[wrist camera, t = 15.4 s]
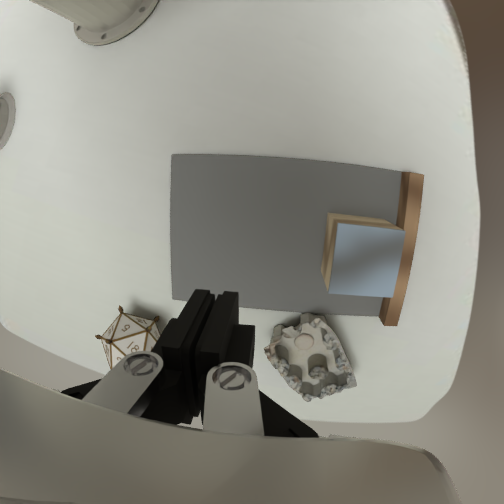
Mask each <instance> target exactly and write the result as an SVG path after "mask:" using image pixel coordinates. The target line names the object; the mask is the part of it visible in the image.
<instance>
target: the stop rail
mask: <svg viewBox="0 0 504 504" xmlns="http://www.w3.org/2000/svg"><path fill="white" fill-rule="evenodd" d="M423 180H424V175H422V174H417V173H411V172H402V173H401V185H400V196H399V205H398V213H397V221H396V226H397V227H399V228H401V229H403V230H405V231H406V233H405V239H404V245H403V250H402V256H401V261H400V266H399V271H398V276H397V281H396V285H395V290H394V294H393V298H390V297H383V300H382V304H381V309H380V313H379V318H380V320H381V322H382V323H383V325H384V326H397V324H398V320H399V317H400V313H401V309H402V305H403V301H404V297H405V293H406V289H407V284H408V280H409V275H410V270H411V265H412V260H413V255H414V249H415V243H416V237H417V231H418V224H419V217H420V209H421V201H422V191H423Z"/></svg>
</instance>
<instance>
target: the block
mask: <svg viewBox="0 0 504 504" xmlns="http://www.w3.org/2000/svg"><path fill="white" fill-rule="evenodd" d="M405 233H406V231H405V230H403V229H401V228H399V227H397V226H396V225H394V224H392V223H390V222H388V221H386V220H385V219H379V218H371V217H362V216H353V215H345V214H335V213H328V215H327V224H326V233H325V242H324V250H323V258H322V265H321V273H322V276H323V279H324V282H325V285H326V288H327V291H328V293H329V294H343V295H357V296H373V297H390V298H393V294H394V290H395V285H396V281H397V276H398V271H399V266H400V261H401V256H402V250H403V245H404V239H405Z"/></svg>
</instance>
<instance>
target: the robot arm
mask: <svg viewBox="0 0 504 504" xmlns="http://www.w3.org/2000/svg"><path fill="white" fill-rule="evenodd" d="M29 1H32V2H34V3H36V4H38V5H40V6H42V7H44V8H46V9H48V10H50V11H52V12H54V13H56V14H58V15H60V16H62V17H64V18H66V19H68V20H70V21H72V22H73V23H74V31H75V34H76V36H77V37H78V38H79V39H80V40H81V41H83V42H85V43H87V44H90V45H104V44H108V43H111V42H114V41H116V40H118V39H120V38H122V37H124V36H126V35H127V34H129V33H130V32H131V31H133V30H134V29H135V28H137V27H138V26H139V25H140V24H141V23H142V22H143V21H144V20H145V19H146V18H147V17H148V16H149V14H150V13H151V12H152V10H153V9H154V7H155V6H156V4H157V2H158V0H29ZM254 345H255V325H242V324H239V293H238V292H232V291H224V292H223V294H218V296H217V298H216V301H215V294H211V293H210V290H204V289H195V290H194V292H193V294H192V295H191V297H190V299H189V300H188V302H187V304H186V305H185V307H184V308H183V310H182V312H181V313H180V315H179V317H178V318H177V319H176V318H172V319H171V320H170V321H169V323H168V324H167V326H166V328H165V329H164V331H163V332H162V334H161V336H160V337H159V339H158V340H157V342H156V344H155V345H154V347H153V348H152V350H151V352H149V351H137V352H132V353H130V354H128V355H126V356H125V357H123V358H122V359H121V360H120V361H119V362H118V363H117V364H116V365H115V366H114V367H113V368H112V369H111V370H110V371H109V372H108V373H107V374H106V375H105V377H104V378H102V379H99V380H96V381H92V382H89V383H86V384H82V385H79V386H75V387H72V388H68V389H66V390H63V391H62V392H60V391H59V390H56V389H50V388H47V387H45V386H42V385H40V384H37V383H35V382H32V381H30V380H28V379H25V378H23V377H21V376H18V375H16V374H13V373H11V372H9V371H6V370H4V369H2V368H0V504H462V503H461V500H460V498H459V495H458V492H457V490H456V488H455V485H454V483H453V481H452V479H451V477H450V476H449V474H448V472H447V470H446V469H445V467H444V466H443V464H442V463H441V462H440V461H439V460H438V459H437V458H436V457H435V456H434V455H433V454H432V453H430V452H428V451H427V450H425V449H422V448H419V447H417V446H413V445H409V444H405V443H400V442H395V441H389V440H379V439H366V438H356V437H347V436H339V435H332V434H330V435H329V437H322V436H318V434H317V433H316V432H315V431H314V430H313V429H312V428H310V427H309V426H307V425H306V424H305V423H303V422H302V421H300V420H299V419H297V418H296V417H295V416H293V415H292V414H290V413H289V412H288V411H286V410H285V409H284V408H282V407H281V406H280V405H278V404H277V403H276V402H274V401H273V400H272V399H270V398H269V397H268V396H266V395H265V394H264V393H262V392H261V391H260V390H259V389H258V381H257V376H256V373H255V371H254V370H253V369H252V367H253V358H254ZM200 412H201V419H202V425H203V429H197V428H191V427H184V426H179V425H177V424H180V423H185V424H191V422H192V419H193V416H194V417H198V415H199V413H200Z"/></svg>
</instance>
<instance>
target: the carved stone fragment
mask: <svg viewBox="0 0 504 504" xmlns="http://www.w3.org/2000/svg"><path fill="white" fill-rule="evenodd" d="M300 318H301V322H300V324H299V325H298V326H296V327H293V326H291V327H288V328H286V327H284V326H283V325H279V326H276V327H274V332H273V338H272V339H271V342H270V345H269V346H267V347H265V348H264V350H265V354H266V355H267V358H268V359H269V361H270V362H271V364H272V365H273V366H274V367H275V369H278V371H279V373H280V375H281V376H283V378H284V379H285V380H286V382H287V384H288V385H289V386H290V387H291V388H292V389H293V390H295V391H296V392H297V393H298V394H301V395H302V397H303V399H304V400H305V401H307V402H309V401H311V399H312V398H316V397H319V398H320V399H322V398H323V397H324V396H326V395H332V394H334V393H338V392H341V391H342V390H343V389H346V388H352V387H356V386H357V384H356V379H355V376H354V373H353V370H352V367H351V366H350V362H349V360H348V358H347V357H346V354H345V352H344V350H343V348H342V346H341V343H340V341H339V339H338V338H337V336H336V335H335V333H334V332H333V330H332V329H331V328H330V327H329V326H328V325H327V321H326V319H325V317H324V316H323V315H320V316H318V315H312V314H311V313H308V312H307V313H305V314H301V315H300Z"/></svg>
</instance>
